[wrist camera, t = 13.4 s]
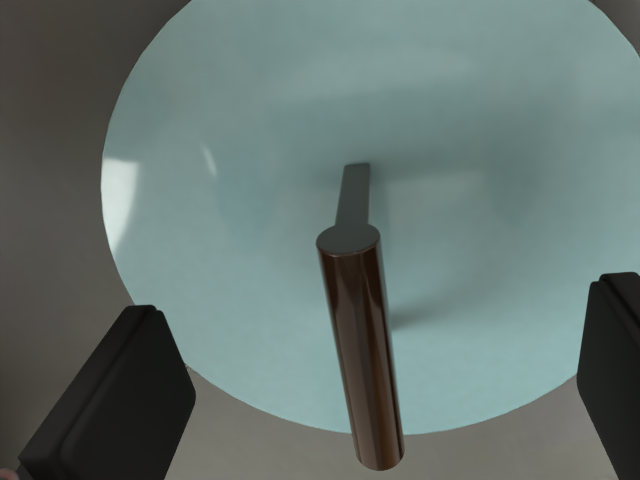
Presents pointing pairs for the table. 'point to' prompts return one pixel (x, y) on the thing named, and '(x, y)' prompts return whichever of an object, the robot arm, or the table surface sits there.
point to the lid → (377, 202)
